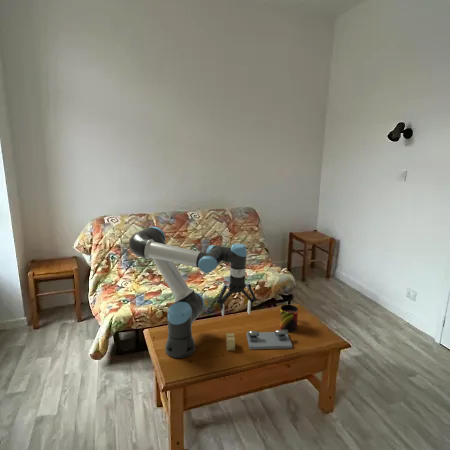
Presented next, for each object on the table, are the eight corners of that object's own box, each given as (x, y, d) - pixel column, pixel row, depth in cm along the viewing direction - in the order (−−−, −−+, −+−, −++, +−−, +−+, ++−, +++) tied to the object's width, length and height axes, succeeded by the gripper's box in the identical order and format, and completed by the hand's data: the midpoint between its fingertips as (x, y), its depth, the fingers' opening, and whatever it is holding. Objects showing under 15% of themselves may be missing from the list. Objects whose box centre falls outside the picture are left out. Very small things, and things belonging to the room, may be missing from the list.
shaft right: (276, 341, 179) (277, 333, 178) (273, 336, 183) (274, 328, 182) (288, 339, 181) (289, 331, 180) (285, 334, 185) (285, 327, 184)
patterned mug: (288, 318, 205) (289, 300, 202) (299, 331, 192) (301, 311, 189) (273, 321, 202) (274, 302, 199) (284, 333, 189) (285, 313, 186)
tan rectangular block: (234, 350, 174) (235, 339, 172) (226, 350, 174) (226, 339, 172) (234, 343, 180) (234, 333, 178) (226, 343, 179) (226, 333, 178)
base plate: (249, 349, 175) (249, 346, 174) (246, 335, 187) (246, 332, 187) (292, 348, 176) (292, 345, 176) (286, 334, 188) (286, 331, 188)
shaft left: (248, 341, 178) (248, 333, 177) (247, 337, 183) (247, 329, 182) (259, 341, 179) (259, 333, 178) (257, 336, 183) (258, 329, 182)
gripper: (214, 279, 163) (212, 319, 168) (264, 276, 168) (261, 315, 174) (211, 273, 170) (210, 311, 176) (259, 271, 175) (257, 308, 181)
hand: (235, 314), depth 175 cm, fingers open, 13 cm apart
